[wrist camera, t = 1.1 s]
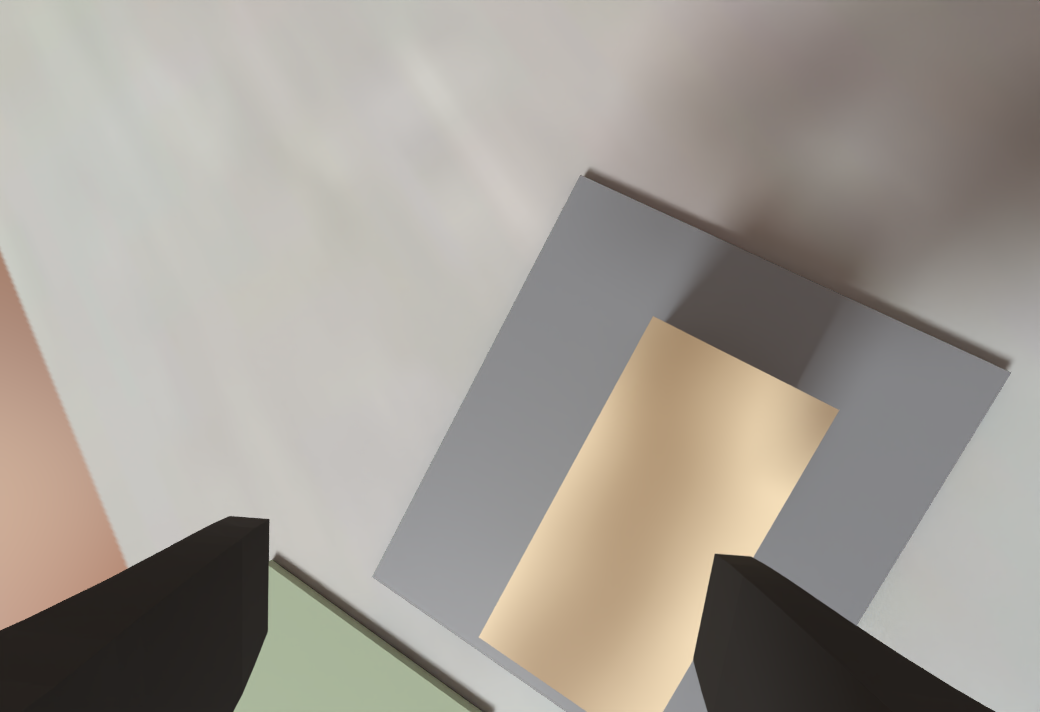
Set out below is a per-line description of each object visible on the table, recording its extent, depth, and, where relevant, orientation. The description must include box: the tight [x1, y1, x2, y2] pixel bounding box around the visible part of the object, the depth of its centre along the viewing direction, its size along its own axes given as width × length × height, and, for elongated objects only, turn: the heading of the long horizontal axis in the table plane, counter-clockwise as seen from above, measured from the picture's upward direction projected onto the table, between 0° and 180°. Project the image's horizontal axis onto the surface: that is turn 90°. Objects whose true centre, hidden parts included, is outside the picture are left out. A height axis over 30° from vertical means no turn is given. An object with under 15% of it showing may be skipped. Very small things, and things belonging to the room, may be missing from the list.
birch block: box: [479, 316, 839, 712], centre depth 17 cm, size 4×9×6 cm, turn 152°
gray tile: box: [372, 175, 1011, 712], centre depth 20 cm, size 14×16×1 cm
